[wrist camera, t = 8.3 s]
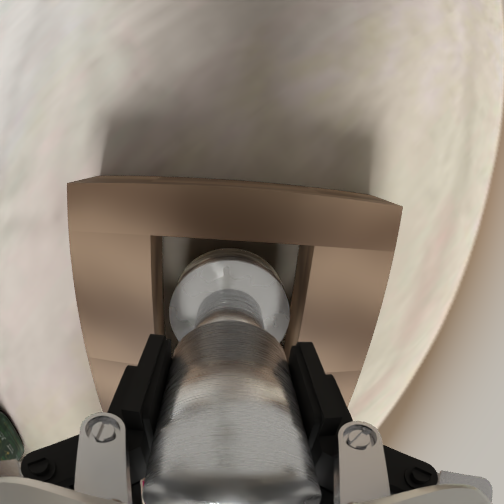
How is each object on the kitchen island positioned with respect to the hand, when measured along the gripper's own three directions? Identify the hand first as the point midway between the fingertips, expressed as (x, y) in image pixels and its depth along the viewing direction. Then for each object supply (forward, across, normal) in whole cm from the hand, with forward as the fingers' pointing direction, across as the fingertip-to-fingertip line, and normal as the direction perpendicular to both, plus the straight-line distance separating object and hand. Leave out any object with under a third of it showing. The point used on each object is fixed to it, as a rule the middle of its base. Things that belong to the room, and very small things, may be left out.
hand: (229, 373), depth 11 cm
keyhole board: (+8, 0, +6) cm, 10 cm away
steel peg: (+6, 0, 0) cm, 6 cm away
